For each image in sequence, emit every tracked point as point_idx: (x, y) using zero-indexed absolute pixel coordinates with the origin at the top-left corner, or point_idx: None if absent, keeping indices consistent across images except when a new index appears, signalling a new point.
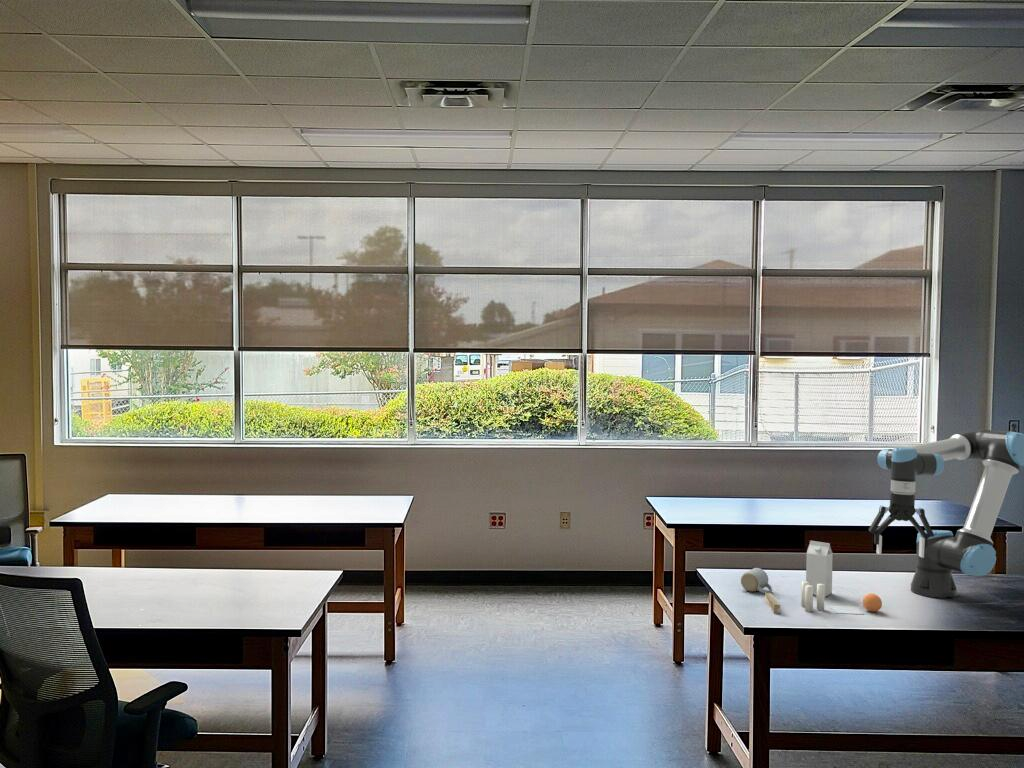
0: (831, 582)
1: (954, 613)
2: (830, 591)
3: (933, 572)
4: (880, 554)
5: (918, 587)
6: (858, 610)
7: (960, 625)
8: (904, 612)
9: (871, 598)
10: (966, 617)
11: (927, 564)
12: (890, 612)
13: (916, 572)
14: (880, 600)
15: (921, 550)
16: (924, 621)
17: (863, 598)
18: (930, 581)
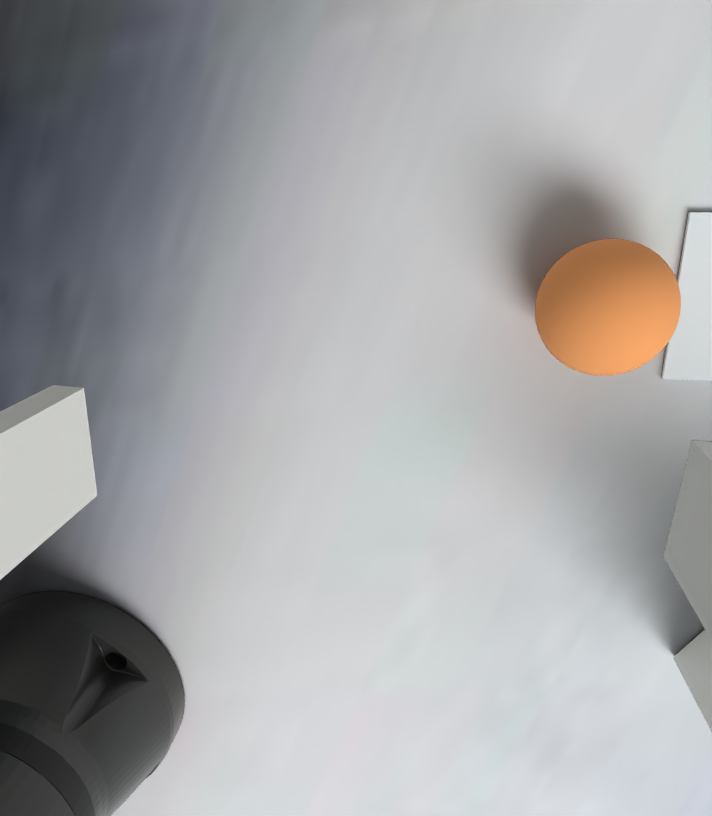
0: (710, 701)
1: (72, 320)
2: (698, 649)
3: (16, 730)
4: (708, 442)
5: (150, 680)
6: (688, 294)
7: (105, 45)
8: (372, 302)
9: (649, 266)
10: (24, 243)
11: (19, 794)
12: (467, 290)
13: (111, 791)
14: (567, 272)
15: (16, 440)
16: (314, 104)
17: (675, 327)
18: (69, 682)
